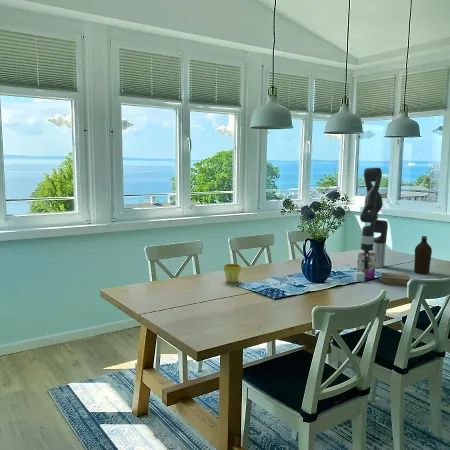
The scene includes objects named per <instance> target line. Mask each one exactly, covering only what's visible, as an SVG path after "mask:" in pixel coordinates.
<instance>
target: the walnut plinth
mask: <svg viewBox="0 0 450 450" xmlns="http://www.w3.org/2000/svg"><path fill="white" fill-rule="evenodd" d="M380 278H381V282H382V285H386V286H399V285H402V286H401V287H403V286H404V287H408V286H407V282H408V281H409V280H410V279H411V280H412V278H411V276H410V275H409V274H406V273H405V274H404V273H392V272H381V277H380Z"/></svg>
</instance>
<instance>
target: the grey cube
mask: <svg viewBox="0 0 450 450" xmlns="http://www.w3.org/2000/svg"><path fill="white" fill-rule="evenodd" d="M353 273H354V274H353V281H355V282H365V278H364V277H365V274H364V273H363V272H356V271H354V272H353Z"/></svg>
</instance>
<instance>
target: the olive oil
mask: <svg viewBox="0 0 450 450" xmlns="http://www.w3.org/2000/svg"><path fill="white" fill-rule="evenodd" d="M432 253H433V250H432V247H431V245H430V244H429V243H428V236H426V235H422V236H421V240H420V242H419V243H418V244H416V246H415V247H414V265H413V267H414V268H413V272H414V273H415V274H419V275H429V274H430V267H431V260H432V255H433V254H432Z"/></svg>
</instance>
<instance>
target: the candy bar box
mask: <svg viewBox="0 0 450 450" xmlns="http://www.w3.org/2000/svg"><path fill="white" fill-rule="evenodd" d="M369 255H370V256H369V263H368V269H364V256H365V252H364V251H357V253H356V266H355V272H363V273H364V274H365V277H364V279H375V274H376V273H375V272H376V267H375V262H376V253H374V252H372V251H369ZM366 261H368V260H366Z"/></svg>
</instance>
